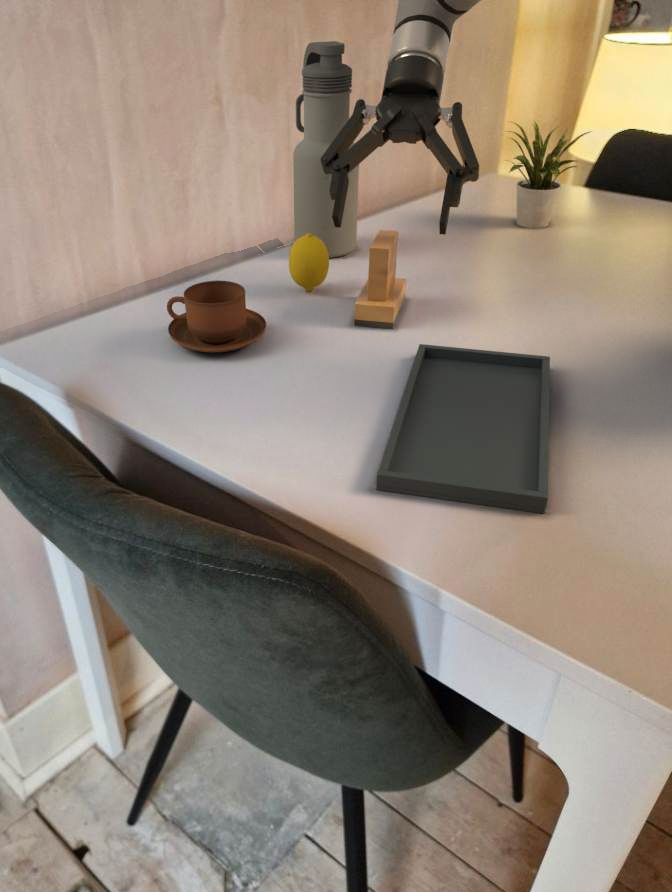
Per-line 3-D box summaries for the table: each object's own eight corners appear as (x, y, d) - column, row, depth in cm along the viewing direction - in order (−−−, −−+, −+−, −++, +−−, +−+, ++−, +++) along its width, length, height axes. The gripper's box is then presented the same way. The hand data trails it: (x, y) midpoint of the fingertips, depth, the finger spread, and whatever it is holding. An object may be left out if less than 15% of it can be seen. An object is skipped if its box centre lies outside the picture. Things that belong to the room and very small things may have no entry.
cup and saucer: (171, 365, 89) (165, 315, 85) (168, 324, 99) (162, 277, 95) (273, 356, 90) (271, 306, 87) (260, 316, 100) (257, 270, 96)
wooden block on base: (368, 296, 105) (371, 225, 99) (404, 299, 104) (410, 228, 98) (354, 325, 97) (356, 250, 91) (392, 329, 96) (397, 253, 90)
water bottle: (285, 242, 124) (281, 40, 107) (341, 235, 126) (346, 36, 109) (306, 262, 116) (305, 48, 99) (365, 254, 118) (374, 44, 101)
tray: (418, 357, 90) (419, 343, 89) (547, 370, 86) (550, 356, 85) (375, 489, 68) (376, 474, 67) (544, 513, 65) (547, 497, 64)
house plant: (464, 222, 130) (477, 116, 120) (511, 205, 137) (527, 104, 127) (537, 241, 121) (557, 129, 111) (583, 222, 129) (606, 115, 119)
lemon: (299, 281, 110) (298, 225, 105) (334, 287, 108) (336, 229, 103) (282, 295, 106) (281, 236, 101) (318, 301, 104) (319, 242, 99)
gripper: (511, 94, 100) (487, 246, 98) (326, 90, 106) (299, 233, 103) (516, 52, 93) (490, 216, 90) (317, 50, 98) (288, 203, 96)
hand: (388, 225), depth 97 cm, fingers open, 13 cm apart
